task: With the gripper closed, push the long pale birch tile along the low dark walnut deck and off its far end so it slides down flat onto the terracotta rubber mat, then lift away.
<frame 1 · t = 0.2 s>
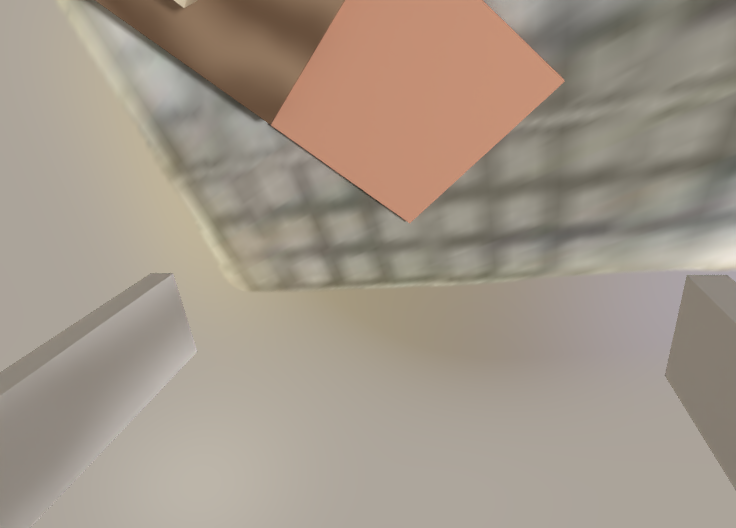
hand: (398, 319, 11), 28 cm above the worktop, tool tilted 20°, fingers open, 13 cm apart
terracotta mat: (404, 102, 36), on the worktop
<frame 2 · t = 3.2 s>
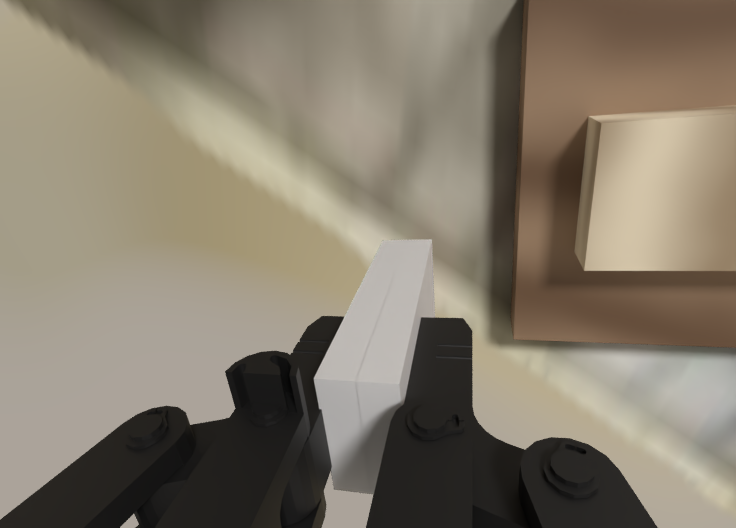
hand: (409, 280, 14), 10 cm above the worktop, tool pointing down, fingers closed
birch tile: (700, 183, 18), point 2 cm above the worktop, touching walnut deck
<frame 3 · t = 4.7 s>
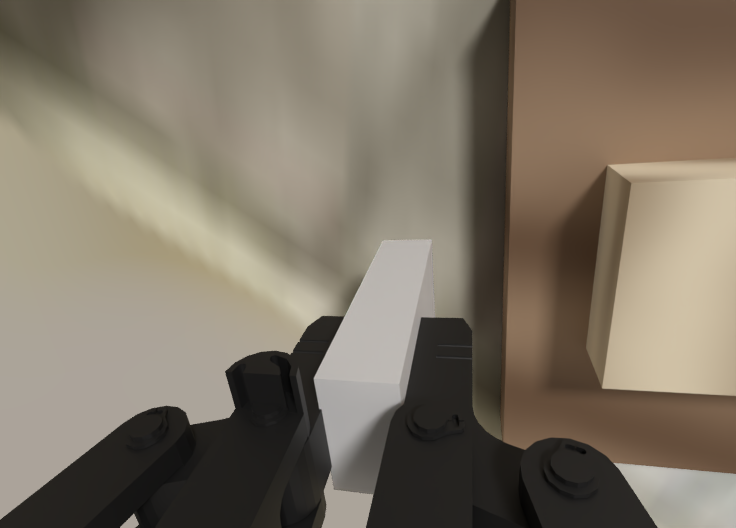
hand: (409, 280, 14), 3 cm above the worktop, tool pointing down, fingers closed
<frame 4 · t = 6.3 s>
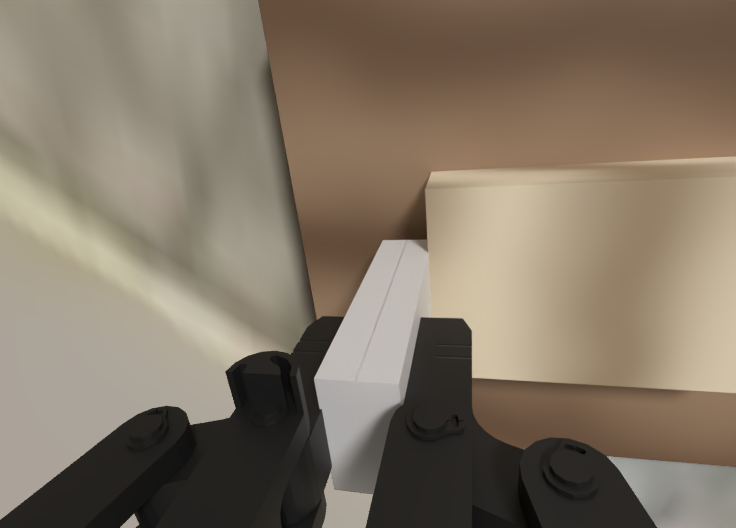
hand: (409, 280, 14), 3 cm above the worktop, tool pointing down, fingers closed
walnut deck: (603, 234, 15), on the worktop
birch tile: (584, 262, 13), point 2 cm above the worktop, touching gripper
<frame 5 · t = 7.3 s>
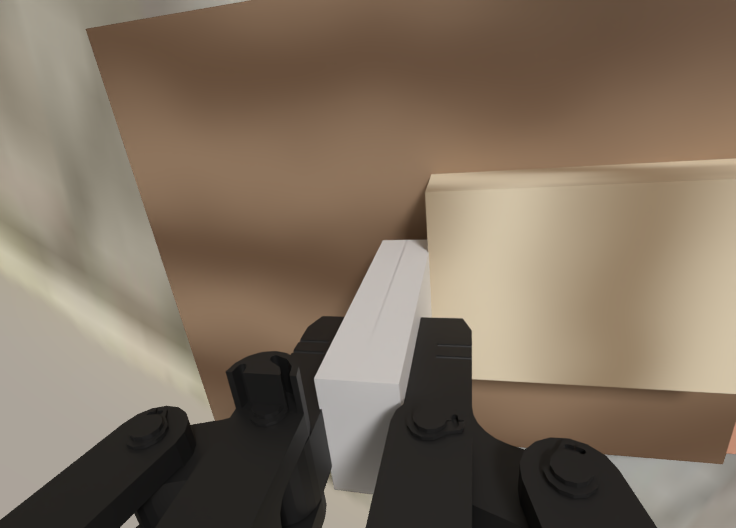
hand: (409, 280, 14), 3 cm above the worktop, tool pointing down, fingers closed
walnut deck: (428, 237, 16), on the worktop
birch tile: (583, 264, 13), point 2 cm above the worktop, touching gripper, walnut deck
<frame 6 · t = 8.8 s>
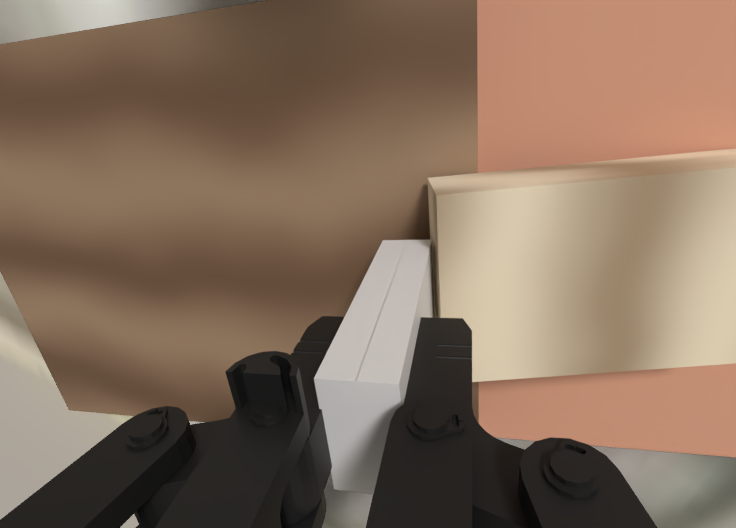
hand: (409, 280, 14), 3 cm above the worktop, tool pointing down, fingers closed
walnut deck: (229, 244, 18), on the worktop
birch tile: (573, 257, 14), point 1 cm above the worktop, tilted 12°, touching gripper, terracotta mat
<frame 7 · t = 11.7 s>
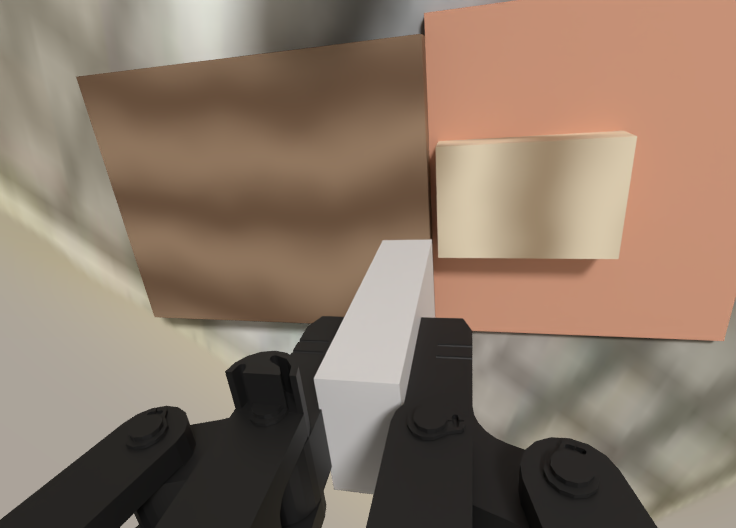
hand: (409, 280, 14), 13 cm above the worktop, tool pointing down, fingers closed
walnut deck: (273, 197, 28), on the worktop
terracotta mat: (582, 185, 23), on the worktop
birch tile: (523, 193, 23), resting on terracotta mat
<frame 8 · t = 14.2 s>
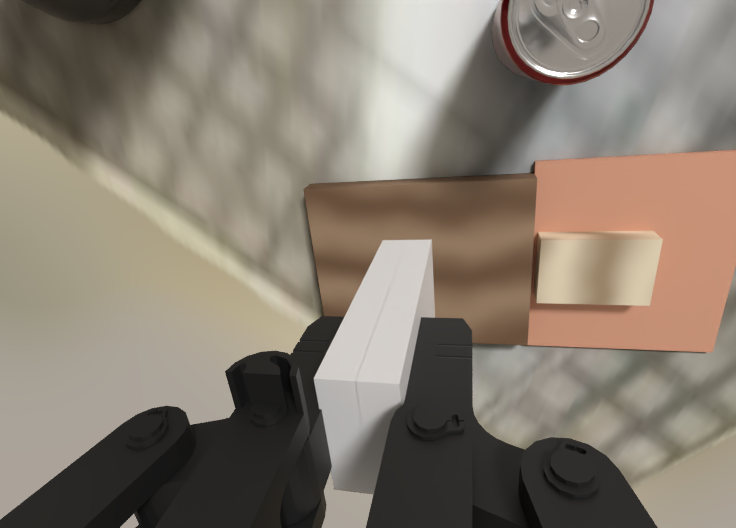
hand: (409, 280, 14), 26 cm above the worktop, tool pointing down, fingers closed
soda can: (541, 25, 32), on the worktop
walnut deck: (420, 260, 42), on the worktop
terracotta mat: (626, 259, 38), on the worktop
birch tile: (590, 263, 38), resting on terracotta mat
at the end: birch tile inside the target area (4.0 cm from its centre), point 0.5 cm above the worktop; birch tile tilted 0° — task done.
